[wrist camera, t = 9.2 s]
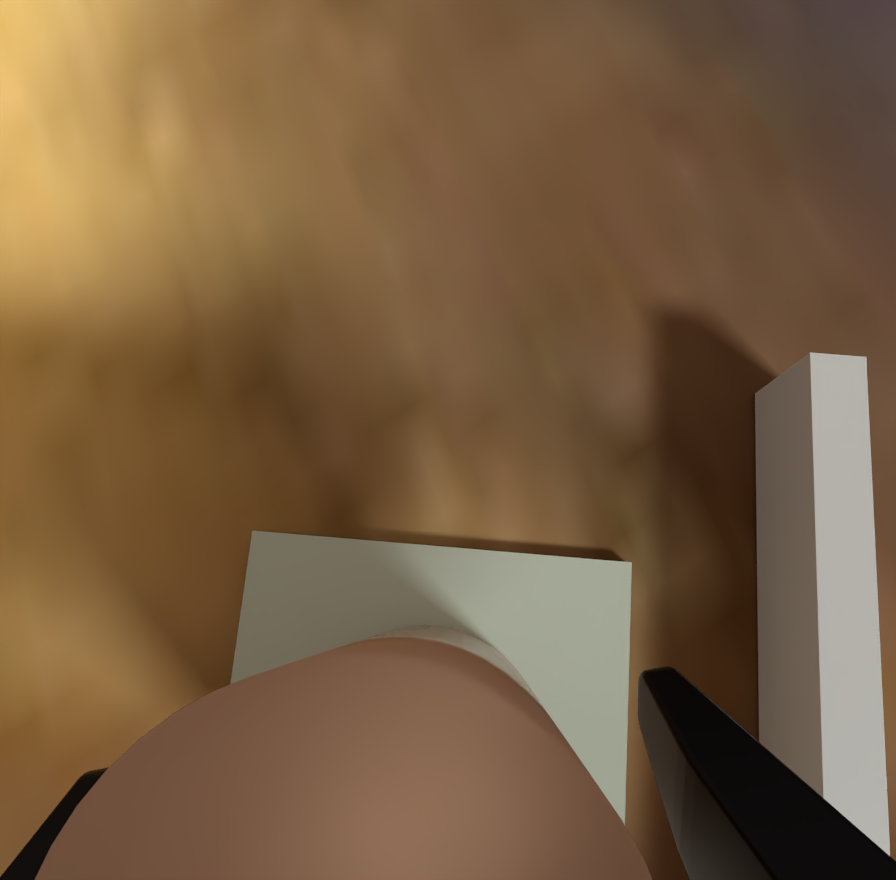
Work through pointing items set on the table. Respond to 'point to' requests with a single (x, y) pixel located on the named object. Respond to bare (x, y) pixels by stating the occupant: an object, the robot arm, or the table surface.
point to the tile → (457, 621)
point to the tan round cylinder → (354, 779)
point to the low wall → (820, 587)
